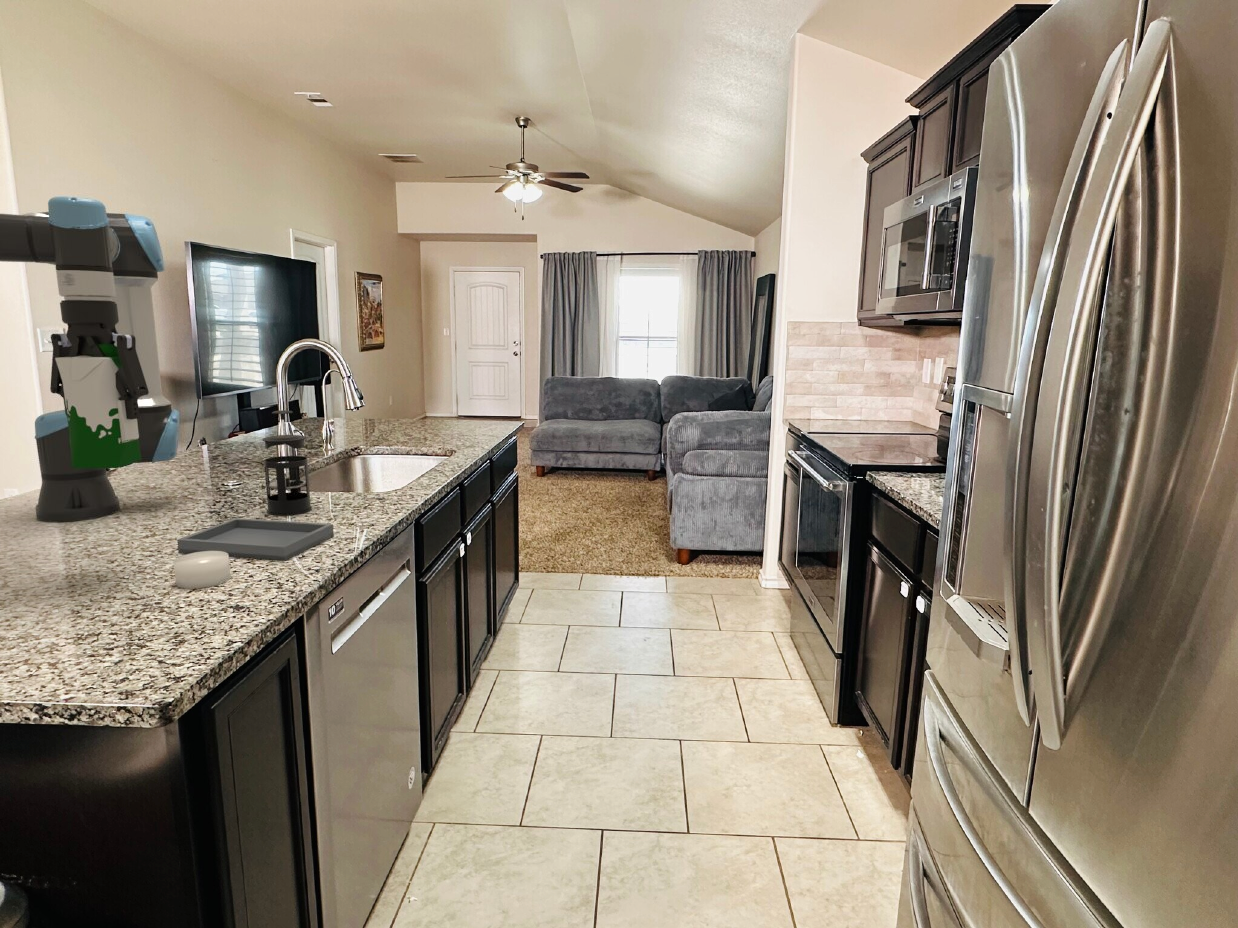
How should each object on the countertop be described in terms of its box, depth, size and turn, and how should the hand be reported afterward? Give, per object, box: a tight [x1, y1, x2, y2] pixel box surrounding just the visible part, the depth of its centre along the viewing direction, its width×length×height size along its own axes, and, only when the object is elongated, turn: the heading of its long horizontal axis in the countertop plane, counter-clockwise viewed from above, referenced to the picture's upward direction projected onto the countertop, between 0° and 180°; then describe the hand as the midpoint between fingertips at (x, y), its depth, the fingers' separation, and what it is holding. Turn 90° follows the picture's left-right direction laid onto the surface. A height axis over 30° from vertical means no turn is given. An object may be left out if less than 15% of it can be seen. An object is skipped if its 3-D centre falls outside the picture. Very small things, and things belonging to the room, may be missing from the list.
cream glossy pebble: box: [173, 551, 232, 589], centre depth 124 cm, size 8×8×4 cm
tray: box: [176, 517, 335, 561], centre depth 144 cm, size 22×16×2 cm
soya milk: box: [55, 344, 141, 469], centre depth 122 cm, size 9×9×20 cm
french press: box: [262, 410, 313, 517], centre depth 168 cm, size 12×9×23 cm
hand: (105, 437), depth 123 cm, fingers closed on soya milk, 9 cm apart
